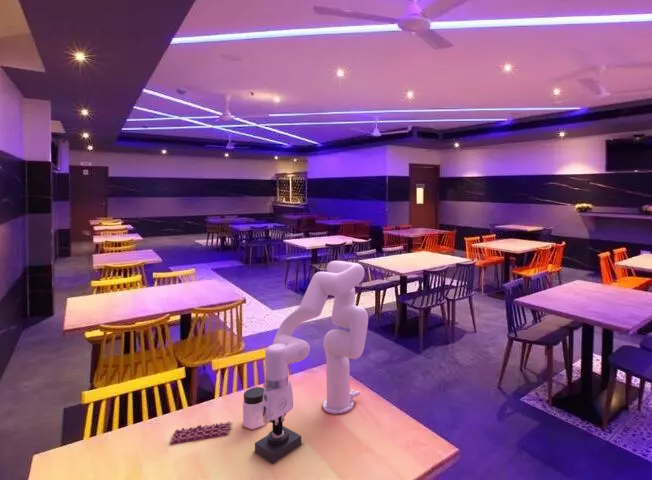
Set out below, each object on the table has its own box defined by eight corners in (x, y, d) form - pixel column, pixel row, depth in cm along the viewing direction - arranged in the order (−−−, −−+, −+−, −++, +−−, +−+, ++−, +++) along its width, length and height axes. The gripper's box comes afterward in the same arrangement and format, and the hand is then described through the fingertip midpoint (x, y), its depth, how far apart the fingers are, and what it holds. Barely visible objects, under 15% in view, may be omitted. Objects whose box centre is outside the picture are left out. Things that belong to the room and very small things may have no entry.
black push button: (283, 434, 146) (283, 421, 146) (301, 444, 140) (301, 430, 140) (254, 452, 137) (254, 437, 136) (273, 463, 131) (272, 449, 130)
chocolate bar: (229, 435, 146) (229, 430, 146) (171, 445, 141) (171, 439, 141) (231, 424, 153) (231, 419, 153) (176, 433, 148) (176, 427, 148)
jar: (245, 432, 148) (245, 400, 147) (240, 421, 154) (240, 391, 154) (270, 424, 152) (269, 393, 152) (264, 414, 159) (263, 384, 159)
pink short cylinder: (279, 433, 141) (279, 428, 141) (286, 437, 139) (286, 432, 139) (269, 439, 138) (269, 433, 138) (277, 443, 135) (277, 438, 135)
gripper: (265, 393, 129) (265, 448, 130) (301, 376, 141) (301, 426, 142) (251, 386, 134) (252, 440, 134) (287, 370, 146) (288, 419, 146)
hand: (277, 433), depth 138 cm, fingers closed
